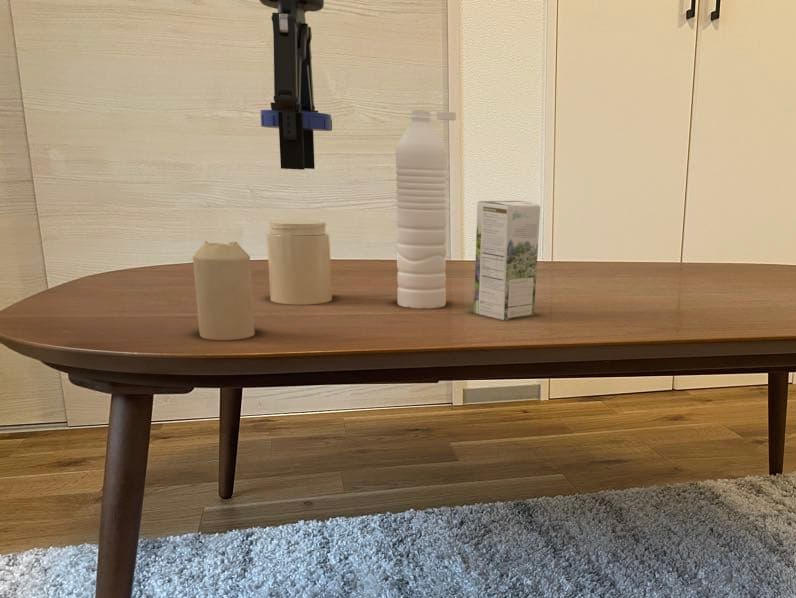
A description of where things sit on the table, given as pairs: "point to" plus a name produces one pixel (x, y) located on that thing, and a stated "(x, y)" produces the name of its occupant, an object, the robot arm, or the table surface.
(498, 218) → the syrup box
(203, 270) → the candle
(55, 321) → the table surface
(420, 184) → the water bottle
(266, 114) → the lid
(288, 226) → the jar
